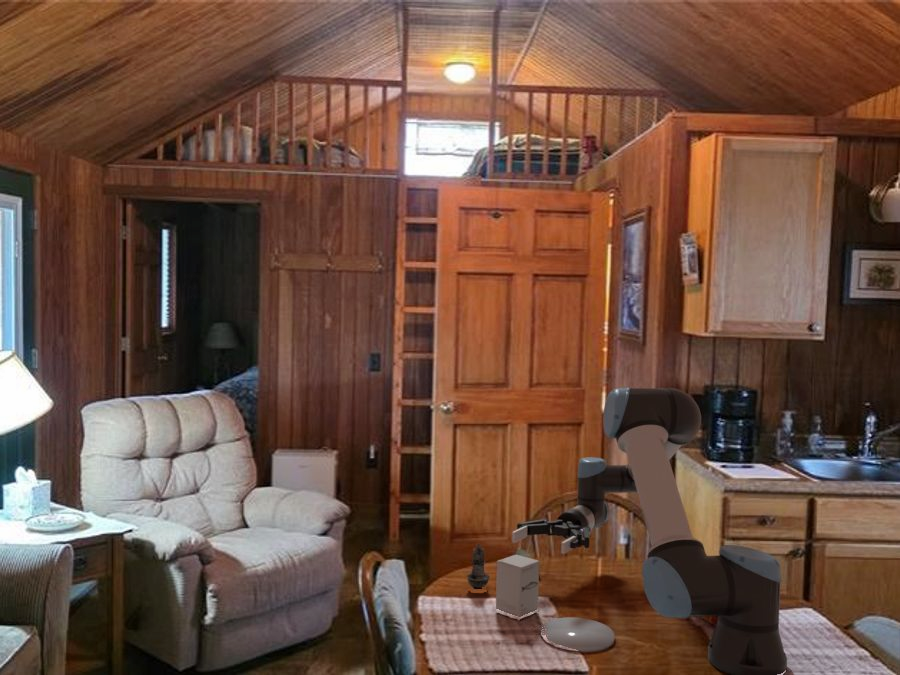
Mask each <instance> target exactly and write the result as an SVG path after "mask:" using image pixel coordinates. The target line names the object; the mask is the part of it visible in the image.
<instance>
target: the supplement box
mask: <svg viewBox="0 0 900 675" xmlns="http://www.w3.org/2000/svg"><path fill="white" fill-rule="evenodd" d="M534 559H535V558H534ZM534 559H531V558H527V557H524V556H520V555H516V554H513V555H511V556H507V557H505V558H502V559H498V560H497V561H496V579H495V580H496V586H495V587H496V590H495V610H496V609H499V610H501V611H504V612H506V613H509V614H512V615H515V616H518V617H521V616H523V615H525V614H528V613H530V612H533V611H535V610H537V609H538V610H539V585H540V584H539V582H540V581H539V580H540V579H539V578H540V576H539V574H540V561H539V560H537V559H535V560H534Z"/></svg>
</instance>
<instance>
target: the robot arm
mask: <svg viewBox="0 0 900 675" xmlns="http://www.w3.org/2000/svg"><path fill="white" fill-rule="evenodd" d="M605 400H606V401H605V404H604V408H603V415H602V416H603V418H602V419H603V420H602V421H603V423H602V425H603V426H602V427H603V432H604V435H605V436H606V437H607V438H608V439H612V440H613V439H615V440H616V442H617V446H618V449H619V450H620V451H621V452H623V453H626V455H627V459H628V462H629V463H628V464H623V465H621V464H620V465H619V464H618V465H615V464H614V465H613V464H612V465H610V464H609V465H607V461H606V460H605V459H603V458H600V457H593V456H592V457H591V456H588V457H582V458H581V459H580V460H579V461H578V467H577V497H576V498H577V499H576V506H573V507H571V508H570V509H568V510H566V511H564V512H562V513H561V514H559V516H558V517H557V519H556V520H549V521H548V518H546V517H544V518H540V519H538V520H537V519H536V520H529V521H524V522H517V523H516V529H515V530H513V531H512V532H511V543H512V544H515V543H518V542H520V541H521V540H524V539H525V538H527V537H528V536H536V535H547V536H550V537H551V536H557V537H562V538H563V539H565V540H563V541H561V544H560V545H561V549H560V551H561V554H563V555H565V554H567V553H568V552H570V551H572V550H574V549H577V548H582V547H583V548H585V549H589V548H590V538H591V532H592V531H593V530H595V529H597V528H600V527H602V526H603V525H604V524H605V523H606V522H607V521H608V519H609V518H610V514H611V512H610V508H609V505H608V503H607V502H606V501H605V500H606V494H615V493H617V494H619V493H621V494H622V493H624V494H626V493H630V494H631V493H636V494H637V495H638V499H639V503H640V508H641V511H642V514H643V518H644V522H645V526H646V530H647V533H648V537H649V540H650V544H651V548H650V549H649V550H648V551H647V552H646V553H647V554H646V559H645V560H644V562H643V564H642V569H641V576H642V586H643V590H644V592H645V595H646V598H647V601H648V602H649V604H650V606H651V607H652V609H653V610H654V611H655V612H656V613H658V614H659V615H660V616H662V617H665V618H678V619H687V618H701V617H702V616H718V622H717V625H716V626H715V627H714V631H713V633H712V635H711V637H710V638H711V639H710V641H709V642H708V643H709V644H708V646H707V659H708V662H709V663H710V664H711V665H712V666H713V667H715V668H716V669H718V670H719V671H721V672H723V673H726V674H728V675H777V674H781V673H783V672H784V671H785V670H786V668H787V667H788V658H787V655H786V652H785V649H784V645H783V642H782V639H781V634H780V630H779V628H780V627H779V625H780V623H779V622H780V605H781V602H780V600H781V583H782V576H781V574H782V573H781V565H780V564H781V563H780V562H779V560H777V558H775V557H774V556H773V555H771V554H769V553H767V552H764V551H762V550H758V549H755V548H753V547H748V546H743V545H735V544H725V545H721V547H720V548H719V550H718V555H707V553H706V551H705V550H706V549H705V547H704V544H703V543H702V541H700V540H699V539H697V538H695V537H694V536H693V534H692V531H691V527H690V524H689V520H688V517H687V515H686V512H685V507H684V504H683V502H682V497H681V494H680V491H679V489H678V485H677V484H678V483H677V482H676V478H675V474H674V472H673V469H672V465H671V461H670V460H671V459H672V458H673V457H674V455H676V453H677V452H678V451H679V450H680V448H682V446H686V445H687V444H688V445H689V443H691V442H692V440H693V439H694V438H695V437H696V436H697V435H698V433H699V431H700V428H701V426H702V414H701V411H700V410H701V409H700V408H699V405H698V404H697V402H696V401H695V399H694V398H693V397H692V396H691V395H689V394H688V393H686V392H685V391H683V390H681V389H678V388H673V387H664V388H663V387H661V388H660V387H659V388H658V387H656V388H653V387H651V388H648V387H647V388H646V387H645V388H642V387H641V388H640V387H639V388H638V387H637V388H635V387H634V388H630V387H628V386H627V387H621V388H614V389H612V390H611V391H610V392H609V393H608V395H607V398H606V399H605ZM787 669H788V668H787Z"/></svg>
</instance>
